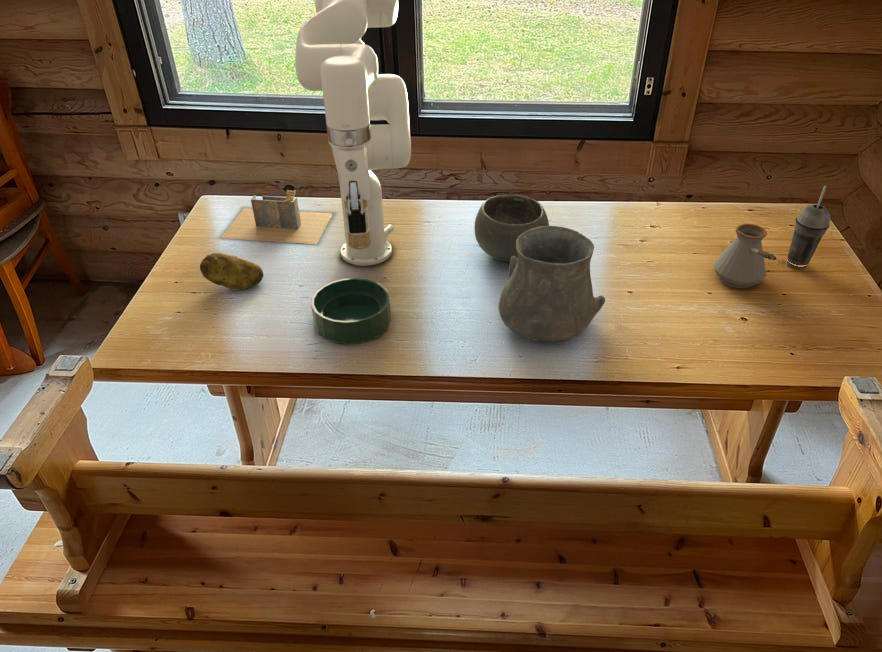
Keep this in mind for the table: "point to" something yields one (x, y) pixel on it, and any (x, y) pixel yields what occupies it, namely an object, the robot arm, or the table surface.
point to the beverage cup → (808, 233)
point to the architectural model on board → (278, 221)
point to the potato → (230, 271)
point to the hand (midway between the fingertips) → (357, 224)
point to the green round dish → (351, 310)
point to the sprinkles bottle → (358, 238)
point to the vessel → (550, 285)
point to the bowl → (506, 223)
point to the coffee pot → (744, 258)
